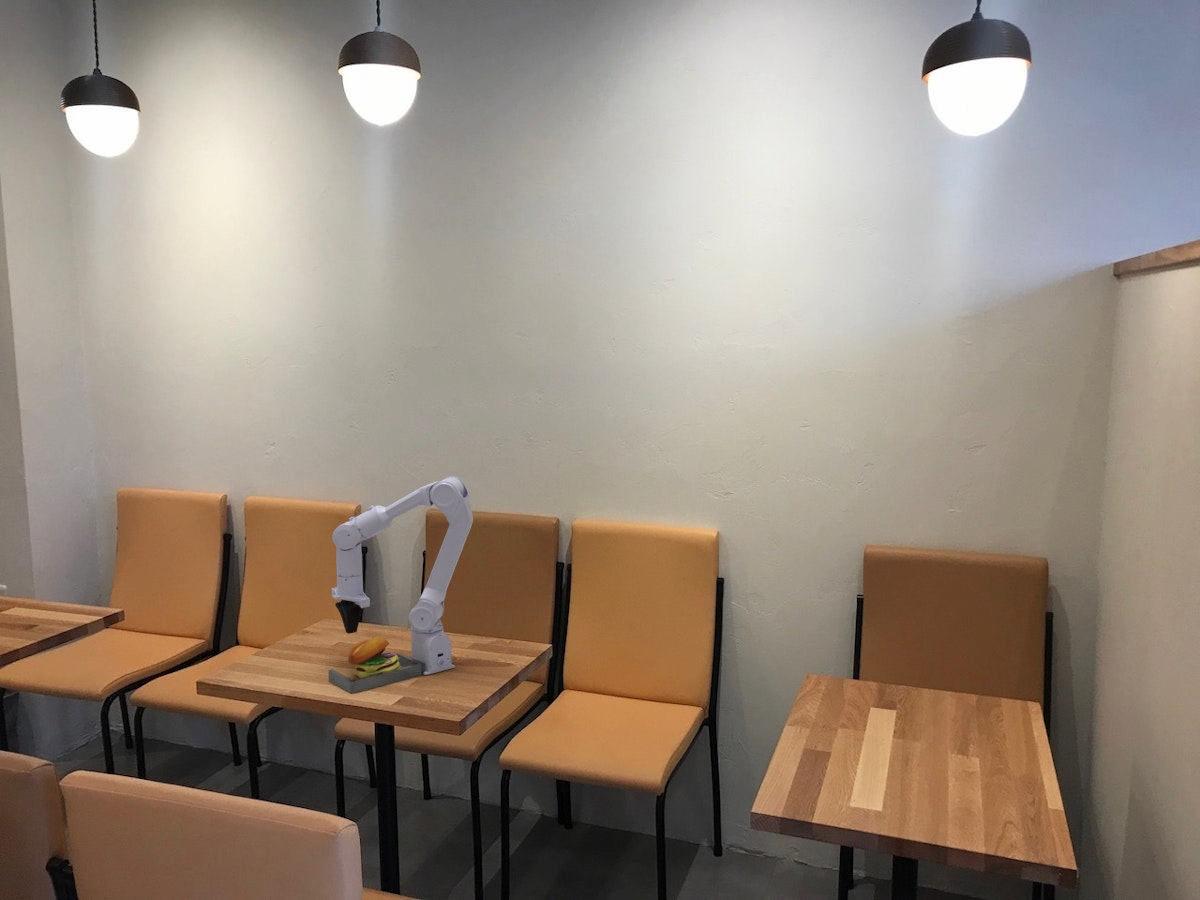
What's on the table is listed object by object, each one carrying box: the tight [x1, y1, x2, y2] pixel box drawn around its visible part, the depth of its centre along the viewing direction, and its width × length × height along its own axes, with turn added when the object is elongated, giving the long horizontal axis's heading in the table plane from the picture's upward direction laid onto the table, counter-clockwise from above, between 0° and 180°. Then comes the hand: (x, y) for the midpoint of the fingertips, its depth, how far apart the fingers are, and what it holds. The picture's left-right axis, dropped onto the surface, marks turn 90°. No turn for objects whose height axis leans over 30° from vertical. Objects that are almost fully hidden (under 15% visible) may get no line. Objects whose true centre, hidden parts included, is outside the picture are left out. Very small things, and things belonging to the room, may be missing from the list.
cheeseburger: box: [347, 636, 402, 679], centre depth 208 cm, size 10×11×10 cm
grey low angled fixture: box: [327, 652, 425, 695], centre depth 207 cm, size 10×18×2 cm, turn 133°
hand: (351, 632), depth 215 cm, fingers closed
